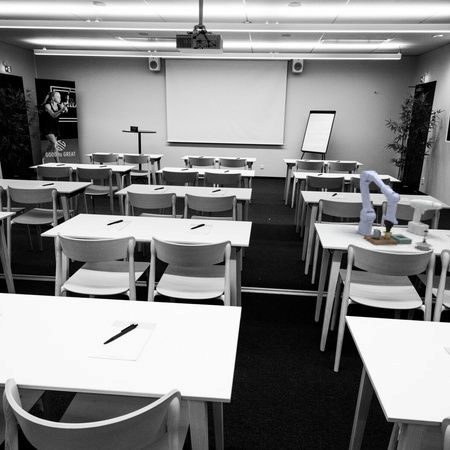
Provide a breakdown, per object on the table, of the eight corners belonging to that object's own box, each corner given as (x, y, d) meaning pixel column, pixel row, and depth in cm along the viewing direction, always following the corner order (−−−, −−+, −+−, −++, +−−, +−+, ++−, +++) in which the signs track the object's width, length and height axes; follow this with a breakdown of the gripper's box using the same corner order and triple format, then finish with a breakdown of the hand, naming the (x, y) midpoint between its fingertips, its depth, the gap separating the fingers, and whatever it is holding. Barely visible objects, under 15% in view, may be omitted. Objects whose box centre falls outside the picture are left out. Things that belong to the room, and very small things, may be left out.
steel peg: (370, 240, 267) (372, 229, 264) (376, 240, 267) (378, 229, 265) (374, 242, 263) (376, 230, 261) (379, 242, 264) (381, 230, 261)
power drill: (431, 239, 276) (438, 204, 269) (402, 230, 296) (408, 196, 289) (439, 238, 279) (446, 203, 273) (410, 229, 300) (416, 196, 293)
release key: (382, 237, 267) (383, 230, 266) (387, 237, 268) (388, 230, 267) (385, 239, 264) (386, 232, 262) (391, 239, 264) (392, 232, 263)
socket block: (363, 238, 271) (364, 235, 270) (385, 238, 274) (385, 235, 273) (374, 245, 258) (375, 242, 257) (397, 244, 261) (397, 241, 260)
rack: (388, 238, 273) (389, 234, 272) (400, 238, 275) (401, 234, 274) (399, 244, 262) (399, 239, 261) (411, 243, 264) (412, 239, 263)
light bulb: (421, 227, 259) (415, 229, 253) (437, 230, 252) (431, 233, 246) (418, 245, 262) (411, 247, 256) (434, 249, 255) (427, 252, 249)
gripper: (403, 214, 255) (399, 235, 259) (390, 209, 269) (387, 228, 272) (393, 214, 254) (390, 235, 257) (380, 209, 267) (377, 228, 271)
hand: (387, 231), depth 265 cm, fingers closed, pressing on release key
